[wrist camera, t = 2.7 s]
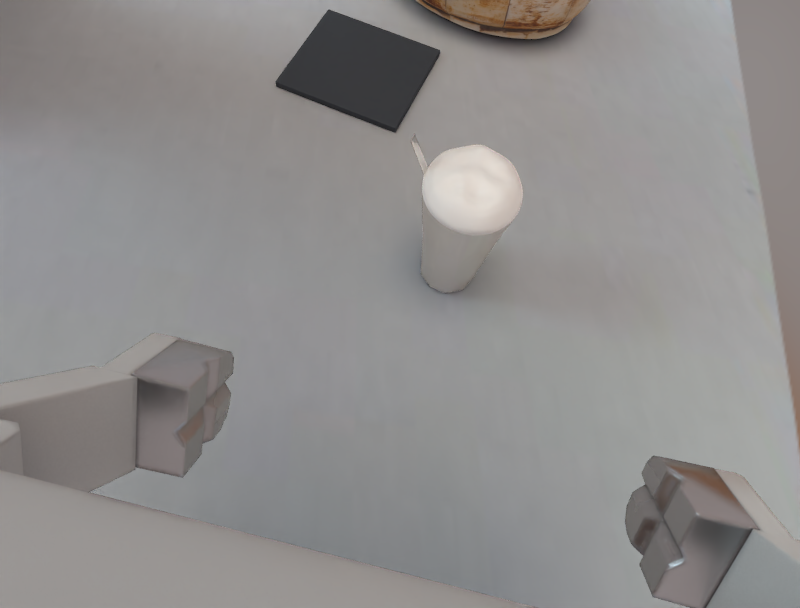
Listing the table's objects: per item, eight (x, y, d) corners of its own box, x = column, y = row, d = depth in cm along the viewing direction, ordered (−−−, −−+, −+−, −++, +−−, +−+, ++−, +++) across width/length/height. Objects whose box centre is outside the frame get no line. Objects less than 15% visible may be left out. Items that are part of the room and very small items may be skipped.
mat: (276, 86, 34) (275, 81, 34) (328, 13, 37) (328, 9, 37) (395, 132, 34) (395, 128, 33) (439, 54, 36) (440, 50, 36)
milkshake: (412, 220, 31) (431, 98, 22) (494, 251, 30) (548, 139, 21) (384, 282, 29) (391, 177, 20) (470, 315, 29) (518, 224, 20)
